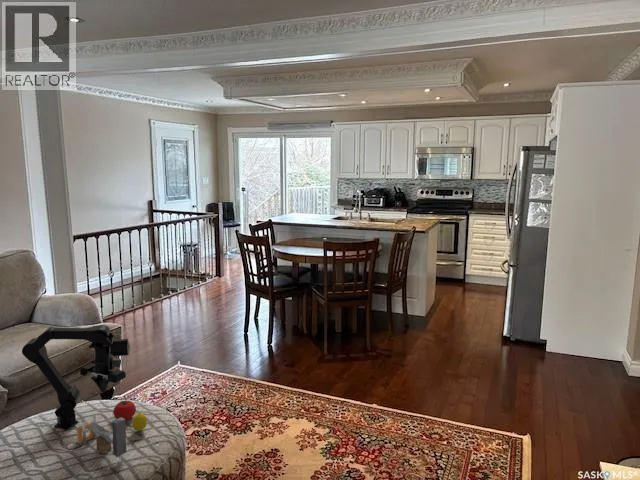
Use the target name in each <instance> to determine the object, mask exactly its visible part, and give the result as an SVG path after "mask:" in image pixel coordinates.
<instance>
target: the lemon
mask: <svg viewBox="0 0 640 480" xmlns="http://www.w3.org/2000/svg"><path fill="white" fill-rule="evenodd" d="M131 421H132V422H131V426H132V428H133V429H134V431H137V432H142V431H144V429H145V428H146V427H147V422H148V420H147V416H146V415H145V414H144V413H142V412H138V413H135V414H134V416H133V417H132V420H131Z"/></svg>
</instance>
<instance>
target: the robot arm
mask: <svg viewBox="0 0 640 480" xmlns="http://www.w3.org/2000/svg"><path fill="white" fill-rule="evenodd" d="M51 340H80V341H81V340H84V341H88V342H90V343H89V345H88V349H93V352H94V353H93V355H94V359H92V361H91V363H89V364H87V365H84V366H83V367H81V369H80V370H79V374H80V375H81V376H87V375H88V372H89V373H91V374H92V376H91V378H90V379H91V380H93V382H94V383H95V385H96V386H97V388H98V389H99V391H101V393H102V394H104V393H106V391H107V387H108V385H109V383H113V384H115V383H118V382H120V381H122V380H124V379H126V377H127V376H126V374H127V373H126V371H124V370H120V369H116V370H114V369H115V368H121V364H122V361H123V360H122V359H120V358H117V357H125V356H127V357H128V356H129V355H130V351H131V345H130V342H129V338H123V339H121V338H120V339H117V337H116V336H115V335H114V334H113V333H112V332H111V328H110V327H108V325H106V324H98V325H93V326H92V325H91V326H89V327H54V326H50V327H47V329H46V330H45V331H43V332H42V333H41V334H40V335H39V336H37V337H33V338H31V339H29V340H28V341H27V342H26V344H25V345H24V346H23V347H22V350H21V354H22V355H23V356H24V357H25V358H26V359H27V360H28V361H29V362H30V363H33V364H35V365H36V366H37V367H38V369H39V370H40V372H41V373H42V374H43V376H44V377H45V379H46V380H47V382H48V383H49V384H50V385H51V387H52V388H53V390H54V391H55V392H56V396H57V401H58V403H59V404H58V405H57V408H56V409H55V410H54V414H55V416H56V421H57V423H56V424H54V425H53V427H54V428H57V429H60V430H65V431H67V430H69V429H70V428H72V427H73V426H75V425H77V424H78V423H79V420H77V419H76V418H77V417H76V411H75V408H76V407H77V406H78V404H79V401H80V398H81V390H79V389H78V387H77V386H76V384H73V385H70V384H68V383H67V381H66V380H65V379H64V377H63V376H62V375H61V373H60V372H59V370H58V369H57V367H56V366H55V364H54V363H53V362H52V360H51V359H50V358H49V356H48V350H47V347H46V345H47V344H48V343H49V341H51ZM112 356H113V357H112Z"/></svg>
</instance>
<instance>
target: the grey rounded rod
mask: <svg viewBox="0 0 640 480" xmlns="http://www.w3.org/2000/svg"><path fill="white" fill-rule="evenodd" d="M92 422H93V423H94V422H95V423H97V416H96V415H94V416H92ZM86 424H87V423H86V420H82V421H81V426H82V437H83V442H82V444H83V445H86V444H87V440H86V435H87V429H86ZM96 437H98V434H96V433H95V432H93V438H92V439H94V440H96Z"/></svg>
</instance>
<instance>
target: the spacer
mask: <svg viewBox="0 0 640 480" xmlns="http://www.w3.org/2000/svg"><path fill="white" fill-rule="evenodd" d="M92 423H93V421H91V422H88V423H86V430H88V429H89V430H88V431H89V434H86V441H88V440H90V439H94V438H93V431H91V430H90V426H89V424H92ZM76 442H77V444H81V443H83V434H82V425H81V426H77V427H76Z"/></svg>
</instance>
